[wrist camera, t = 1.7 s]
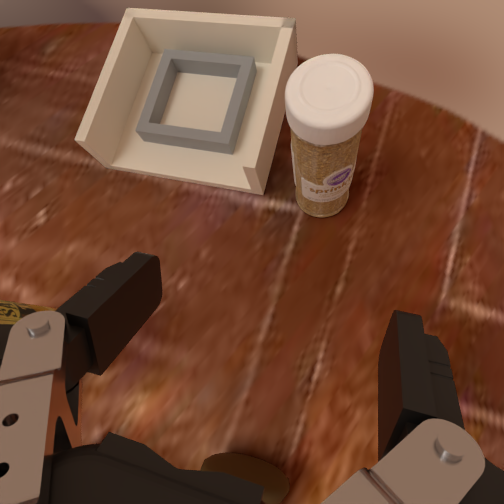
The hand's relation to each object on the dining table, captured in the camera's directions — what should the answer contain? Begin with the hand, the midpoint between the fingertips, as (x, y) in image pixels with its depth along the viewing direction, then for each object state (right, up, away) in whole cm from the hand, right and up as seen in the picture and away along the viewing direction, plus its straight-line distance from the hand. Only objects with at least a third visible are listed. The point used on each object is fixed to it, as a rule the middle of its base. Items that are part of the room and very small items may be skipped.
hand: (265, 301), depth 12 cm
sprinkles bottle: (+6, +7, +19) cm, 21 cm away
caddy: (-5, +15, +23) cm, 28 cm away
